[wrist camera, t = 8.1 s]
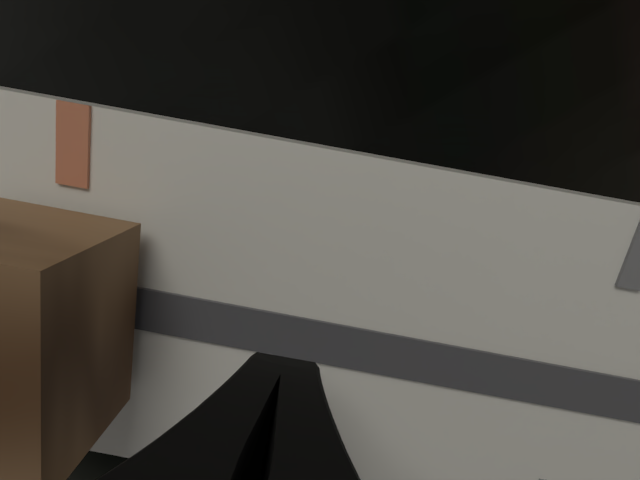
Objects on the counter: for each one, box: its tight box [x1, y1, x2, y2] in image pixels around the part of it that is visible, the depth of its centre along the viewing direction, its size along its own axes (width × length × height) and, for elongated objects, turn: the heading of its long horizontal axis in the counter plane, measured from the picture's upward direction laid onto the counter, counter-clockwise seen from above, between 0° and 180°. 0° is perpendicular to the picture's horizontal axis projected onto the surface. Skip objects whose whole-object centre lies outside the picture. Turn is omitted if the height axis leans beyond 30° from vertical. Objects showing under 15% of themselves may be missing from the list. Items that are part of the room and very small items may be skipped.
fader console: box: [0, 86, 640, 480], centre depth 12 cm, size 10×28×2 cm, turn 80°
